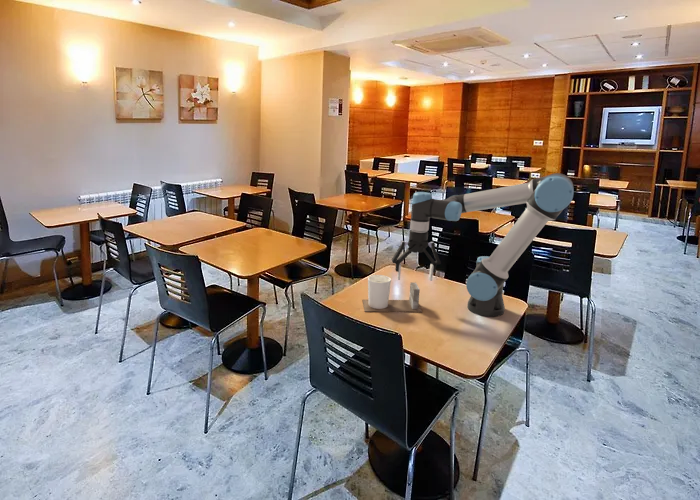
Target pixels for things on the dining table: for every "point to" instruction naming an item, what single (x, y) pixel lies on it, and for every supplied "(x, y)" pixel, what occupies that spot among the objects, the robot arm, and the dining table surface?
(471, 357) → the dining table surface
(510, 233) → the robot arm
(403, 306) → the board
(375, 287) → the candle holder
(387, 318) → the dining table surface
